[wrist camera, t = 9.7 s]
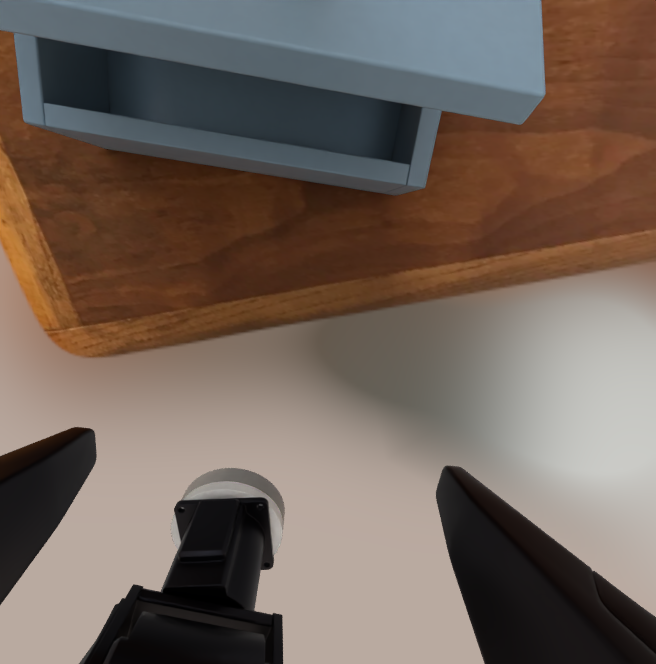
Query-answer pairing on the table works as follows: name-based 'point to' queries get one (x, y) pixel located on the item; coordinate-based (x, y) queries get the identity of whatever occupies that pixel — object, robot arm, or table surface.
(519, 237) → the table surface
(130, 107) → the chest
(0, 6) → the lid
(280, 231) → the table surface
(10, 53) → the table surface
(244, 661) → the robot arm
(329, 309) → the table surface
